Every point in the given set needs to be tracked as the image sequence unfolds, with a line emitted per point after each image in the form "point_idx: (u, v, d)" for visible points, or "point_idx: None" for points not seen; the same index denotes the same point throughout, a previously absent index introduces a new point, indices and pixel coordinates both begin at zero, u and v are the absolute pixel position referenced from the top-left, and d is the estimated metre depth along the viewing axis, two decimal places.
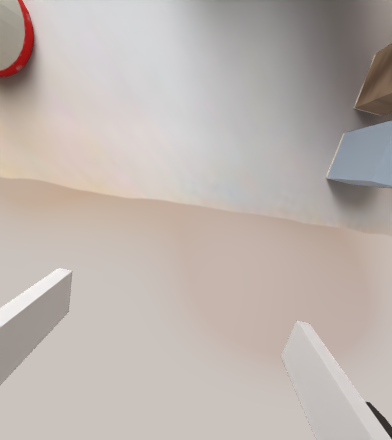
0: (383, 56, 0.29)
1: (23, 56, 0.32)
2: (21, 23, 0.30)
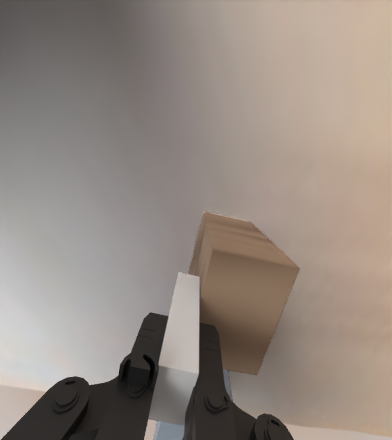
0: (201, 230, 0.18)
1: None
2: None
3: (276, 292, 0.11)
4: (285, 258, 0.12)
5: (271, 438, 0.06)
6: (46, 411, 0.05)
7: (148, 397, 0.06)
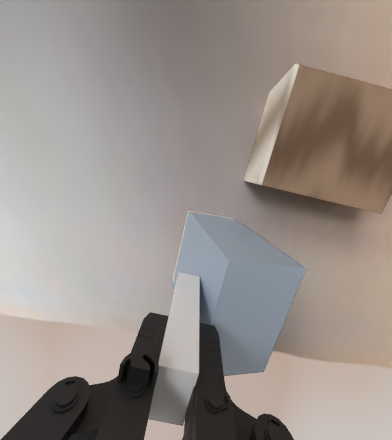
0: (320, 95, 0.13)
1: None
2: None
3: None
4: None
5: (271, 438, 0.06)
6: (46, 411, 0.05)
7: (148, 397, 0.06)
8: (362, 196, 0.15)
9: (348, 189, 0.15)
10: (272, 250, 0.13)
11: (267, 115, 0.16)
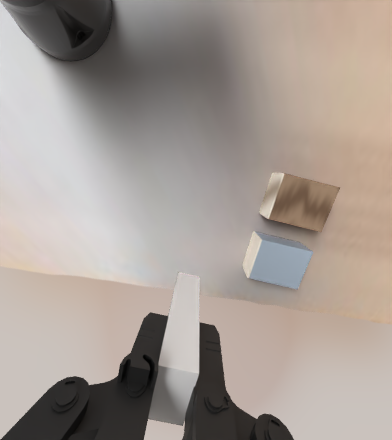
0: (293, 184, 0.33)
1: None
2: None
3: None
4: None
5: (271, 438, 0.06)
6: (46, 411, 0.05)
7: (148, 397, 0.06)
8: (312, 224, 0.34)
9: (305, 221, 0.34)
10: (291, 241, 0.39)
11: (271, 185, 0.36)
